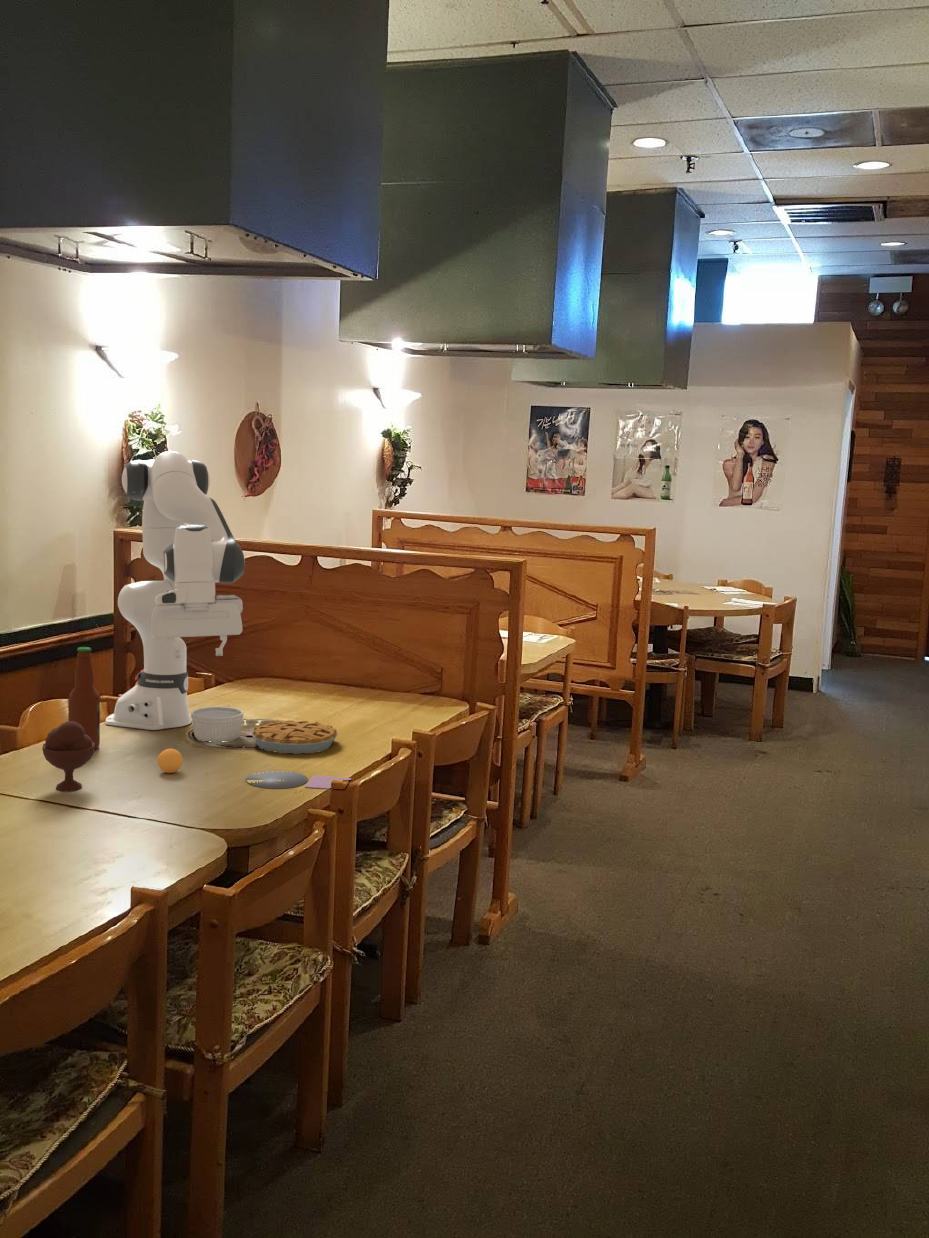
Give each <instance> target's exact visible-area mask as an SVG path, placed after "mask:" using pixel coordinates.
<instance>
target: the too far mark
mask: <svg viewBox="0 0 929 1238" xmlns="http://www.w3.org/2000/svg"><path fill="white" fill-rule="evenodd" d="M332 780H352V778H351V777H337V776H321V775H312V777H311V778H310V779H309V780H308V781H307V782H306V785H304V786H305V787H304V788H307V789H321V790H331V789H330V788H331V781H332Z"/></svg>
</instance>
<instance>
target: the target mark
mask: <svg viewBox="0 0 929 1238" xmlns="http://www.w3.org/2000/svg"><path fill="white" fill-rule="evenodd" d="M264 771H265V772H264V774H263V773H262V771H260V772H261V773H260V774H259V775H258V773H257V772H253V773H251V774H249V775H247V776H246V778H245V781H246V780H264V781H262V782H259V781H258V783H257V782H255V783H252V782H251V783H250V784H252V785H251V786H254V787H256V786H257V788H261V789H270V790H271V789H272V790H275V789H276V790H283V789H292V788H296V787H300V786H303V785H305V784H307V783H308V782H309V780H308V778H309V777H307V776H306V775H304V773H300V772H296V771H291V773H290V772H289V770H273V771H274V772H273V773H272V772H271V771H272V770H268V771H269V772H268V773H267V772H266V771H267V770H264ZM276 771H279V772H276ZM282 771H284V772H283V773H282ZM286 771H288V772H286ZM254 773H256V774H255V775H254ZM265 780H266V781H265ZM271 780H272V781H271ZM278 780H281V781H278ZM283 780H284V781H283ZM250 784H249V785H250Z"/></svg>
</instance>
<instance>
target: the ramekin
mask: <svg viewBox="0 0 929 1238" xmlns="http://www.w3.org/2000/svg"><path fill="white" fill-rule="evenodd" d="M190 717H191V720H192V729H193V734H194V738H196V740H198V739H199V740H198V741H200V740H201V741H200V742H204V741H211V742H210V743H212V742H220V743H223V742H222V741H229V742H233V741H235V739H236V740H237V739H238V737H239V736H240V734H241V729H242V722H243V718H244V711H243V710H241V709H239V708H236V707H229V706H206V707H204V706H203V707H200V708H196V709H194V710H192V711H191V714H190Z"/></svg>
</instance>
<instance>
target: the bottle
mask: <svg viewBox="0 0 929 1238" xmlns="http://www.w3.org/2000/svg"><path fill="white" fill-rule="evenodd" d="M76 651H77V655H76V657H77V660H76V661H77V662H76V666H75V672H74V673H75V674H74V687H73V689H71V691H70V693H69V696H68V700H67V701H68V704H67V705H68V706H67V708H68V709H67V713H68V715H67V716H68V718H67V719H68V721H74V722H77V723H79V724H80V725H81V726H82V727H83V728H84V734H86V735H88V736H89V737H91V739H92V741H93V742H94V743H95V747H94V750H96V749H98V748H99V747H100V742H101V741H100V740H101V738H100V737H101V735H100V734H101V729H100V727H101V726H100V724H101V723H100V722H101V709H100V708H101V697H100V694H99V691H98V690H97V689H96V688H95V686H94V678H95V677H94V669H93V665H92V664H93V663H92V660H91V658H92V654H91V652H92V648H91V647H88V646H79V647H77V649H76Z"/></svg>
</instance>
